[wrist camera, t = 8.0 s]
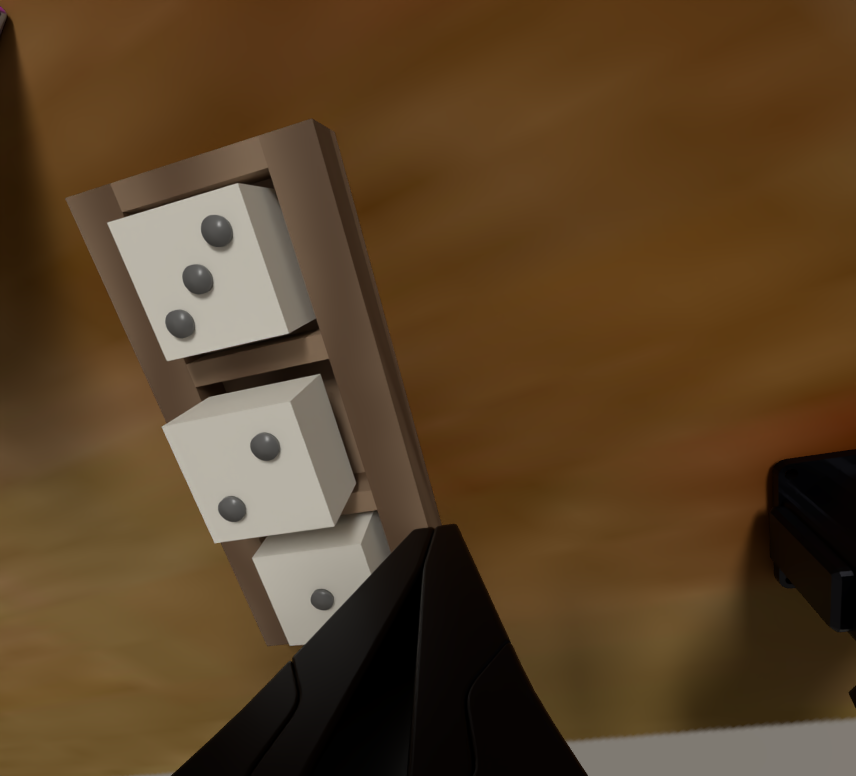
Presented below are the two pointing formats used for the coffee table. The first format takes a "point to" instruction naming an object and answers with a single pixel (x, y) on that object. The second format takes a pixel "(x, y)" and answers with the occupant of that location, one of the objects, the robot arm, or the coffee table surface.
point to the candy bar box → (2, 18)
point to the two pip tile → (264, 460)
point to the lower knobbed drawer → (319, 570)
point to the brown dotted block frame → (290, 353)
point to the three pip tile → (215, 270)
